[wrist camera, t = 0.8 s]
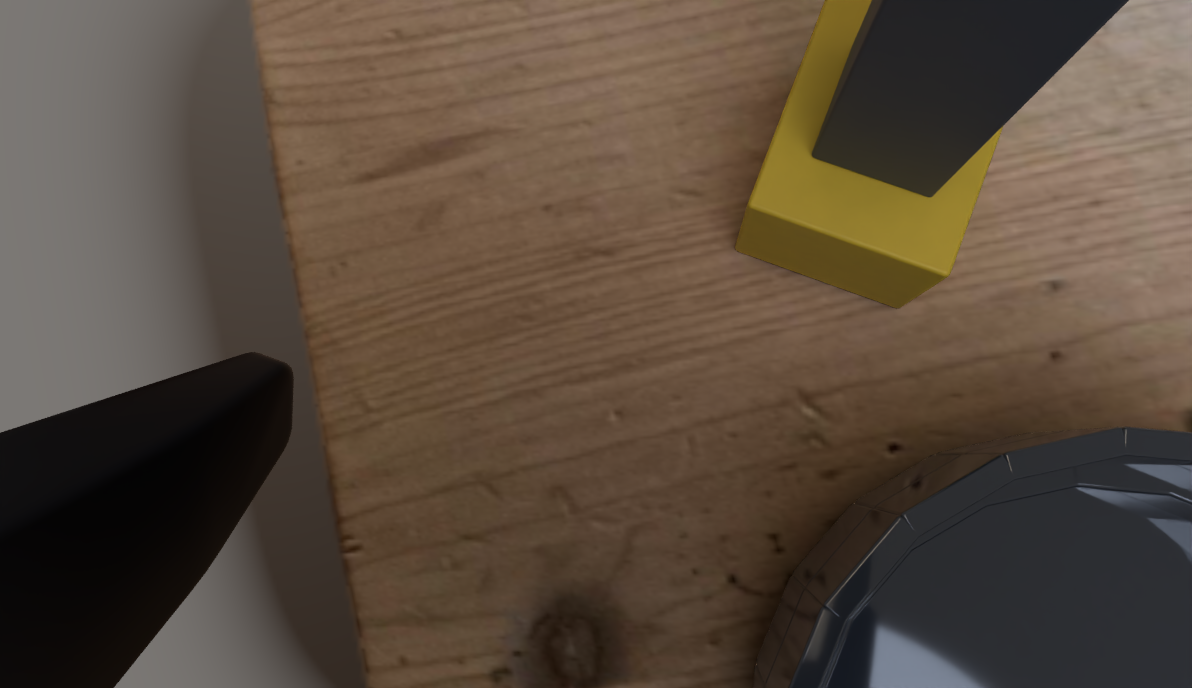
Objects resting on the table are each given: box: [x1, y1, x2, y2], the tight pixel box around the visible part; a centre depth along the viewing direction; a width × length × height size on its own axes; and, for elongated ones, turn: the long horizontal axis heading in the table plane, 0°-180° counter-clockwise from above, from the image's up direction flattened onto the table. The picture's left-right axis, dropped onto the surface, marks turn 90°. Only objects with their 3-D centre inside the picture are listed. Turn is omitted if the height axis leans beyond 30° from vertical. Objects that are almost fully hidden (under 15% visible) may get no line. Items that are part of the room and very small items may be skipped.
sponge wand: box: [735, 0, 1129, 308], centre depth 15 cm, size 5×4×14 cm
